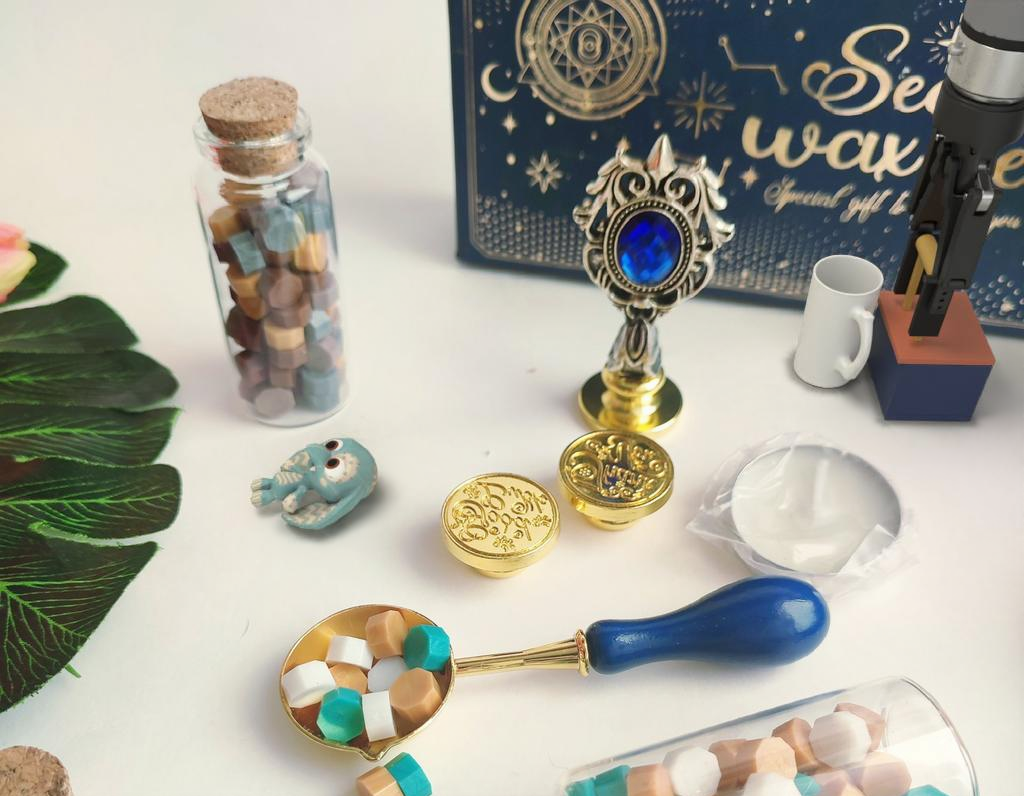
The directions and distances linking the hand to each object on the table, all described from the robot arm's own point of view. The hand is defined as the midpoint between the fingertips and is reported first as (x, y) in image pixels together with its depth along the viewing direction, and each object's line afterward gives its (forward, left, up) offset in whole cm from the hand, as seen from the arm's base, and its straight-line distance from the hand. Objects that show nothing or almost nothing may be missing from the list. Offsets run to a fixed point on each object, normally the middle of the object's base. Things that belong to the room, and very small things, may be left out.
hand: (915, 312), depth 106 cm
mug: (+6, -1, -9) cm, 11 cm away
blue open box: (-2, 0, -9) cm, 10 cm away
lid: (-2, 0, -2) cm, 3 cm away
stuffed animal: (+58, +18, -9) cm, 61 cm away
